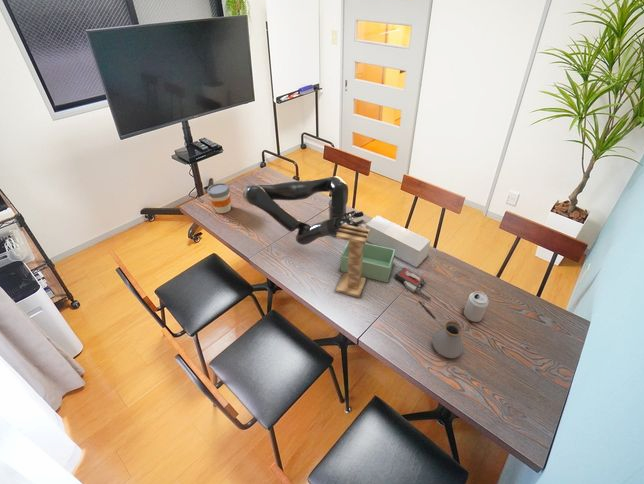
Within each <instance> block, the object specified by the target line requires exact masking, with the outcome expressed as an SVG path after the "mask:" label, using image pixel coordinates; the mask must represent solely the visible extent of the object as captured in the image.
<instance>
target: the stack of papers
mask: <svg viewBox="0 0 644 484" xmlns="http://www.w3.org/2000/svg"><path fill="white" fill-rule="evenodd" d="M365 229H370V233H369V235H368V238H367V240H366V242H367V243H369V244H372V245H377V246H381V247H386V248H390V249H395V254H394V257H396V258H398V259H400V260H402V261H403V262H406V263H408V264H409V265H411V266H412V267H415V268H418V267H419V265H420V264H422V262H423V261H424V260H425V259H426V258H427V257H428V255H429V249H430V245H431V239H429V238H427V237H425V236H423V235H420V234H418V233H416V232H414V231H412V230H409V229H408V228H406V227H403V226H402V225H399V224H398V223H395V222H392V221H391V220H389V219H386V218H385V217H383V216H380V215H378V214H377V215H376V216H374V217H373V218H372V219H371V220H370V221H368V222H367V223H366V224H365Z"/></svg>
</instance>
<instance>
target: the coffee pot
mask: <svg viewBox="0 0 644 484" xmlns="http://www.w3.org/2000/svg"><path fill="white" fill-rule="evenodd" d="M418 304H419V305H420V306H421V308H423V309H424V311H425V312H426V314H428V315H429V316H430V317H431V318H432V319H433V320H434V321H435V322H436V323H437V324H438V325H439V326H440V327H441V329H439V330H438V331H437V332H435V333H434V335H433V336H432V339H431V341H432V346H433V348H434V350H435V351H436V353H437V354H438V355H440V356H442V357H444V358H446V359H456V358H458V357H460V356H461V355H462V354H463V352H464V342H463V339H462V336H461V334H462V333H463V327H462V326H461V323H460V322H458V321H456V320H446V322H444V323H442V322H441V321H440V320H439V319H437V317H436V316H435V314H433V312H431V310H430V309H429V308H428V307H427V306H425V304H423V303H422V301H421V300H419V301H417V302H416V305H418Z"/></svg>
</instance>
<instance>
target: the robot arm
mask: <svg viewBox="0 0 644 484" xmlns="http://www.w3.org/2000/svg"><path fill="white" fill-rule="evenodd" d="M325 192H326V193H329V194H330V195H331V199H329V201H328V219H325V220H323V221H320V222H316V223H314V224H312V225H310V224H309V223H306V222H305V221H302V220H299V219H298V218H296V217H295V216H294V215H292V214H291V213H290V212H289V211H288V210H286V209H285V208H283V206H281V205H279V204H278V203H277V202H276V201H288V202H289V201H301V200H302V201H303V200H307V199H309V198H311V197H312V196H313V195H315V194H318V193H325ZM242 197H243V199H244V201H245V202H246V203H247V204H249V205H252V206H254V207H257V208H258V209H260V210H262V211H263V212H265V213H266V214H268V215H269V216H270V217H271V218H272V219H273V220H274V221H275V222H277V223H278V224H279V225H280V226H281V227H283V228H284V229H285V230H287V231H288V232H290V233H293V232H294V231H296V230H297V233H296V235H295V242H297V244H299V245H304V246H305V245H308V244H311V243H313V242H314V241H316V240H317V239H319V238H323V237H329V236H332V237H336V235H337V233H338V229H340V226H341V225H342V224H346V225H350V226H355V227H360V226H359V224H360V223H362V222H364V220H363V219H361V220H359V221H354V220H356V219H358V218H361V217H364V216H365V215H364V212H363V211H358V212H356V210H352V211H349V212H347V204H348V202H349V186H348V184H347V183H346V182H345V181H344V180H343V179H342V178H341V177H339V176H328V177H324V178H319V179H307V180H292V181H286V182H279V183H275V184H249V185H247V186H246V187H245V188H244V189H243V190H242Z"/></svg>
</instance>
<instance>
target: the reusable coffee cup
mask: <svg viewBox="0 0 644 484" xmlns="http://www.w3.org/2000/svg"><path fill="white" fill-rule="evenodd" d="M206 190H207V195H208V197H209V200H210V202H211V205H212V206H213V208H214V211H215V212H216V213H217V214H225V213H228V212H230V211H231V209H232V208H231V203H232V198H231V193H230V191H231V190H230V187H229V185H228V184H227V183H224V182H218V183H214V184H211V185H210V186H208V187H207V189H206Z"/></svg>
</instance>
